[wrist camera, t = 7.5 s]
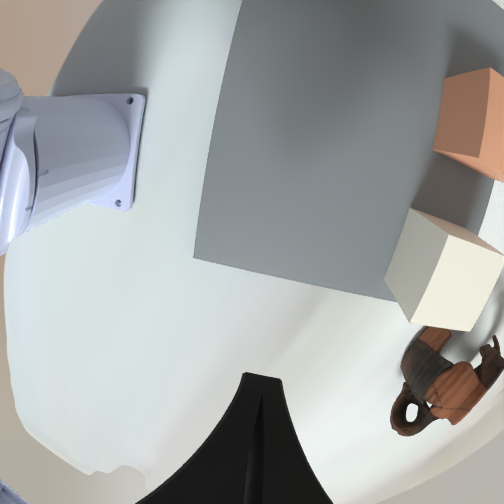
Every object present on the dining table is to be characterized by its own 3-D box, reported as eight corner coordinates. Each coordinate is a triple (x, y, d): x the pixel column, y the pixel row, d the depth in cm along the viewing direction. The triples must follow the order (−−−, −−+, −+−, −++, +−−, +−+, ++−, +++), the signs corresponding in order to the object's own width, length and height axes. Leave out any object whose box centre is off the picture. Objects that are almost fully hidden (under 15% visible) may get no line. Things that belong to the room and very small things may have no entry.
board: (197, 252, 19) (193, 257, 18) (270, -75, 9) (269, -82, 8) (439, 304, 19) (444, 311, 18) (498, 13, 9) (505, 11, 8)
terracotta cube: (432, 149, 14) (478, 157, 9) (444, 78, 12) (490, 67, 7) (485, 176, 14) (532, 193, 9) (497, 111, 12) (544, 113, 7)
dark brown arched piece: (452, 287, 19) (522, 344, 12) (456, 319, 25) (505, 363, 18) (354, 397, 20) (411, 466, 14) (383, 400, 26) (425, 450, 19)
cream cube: (383, 278, 18) (409, 322, 13) (409, 207, 16) (448, 234, 11) (439, 291, 17) (470, 331, 13) (464, 228, 15) (506, 257, 11)
